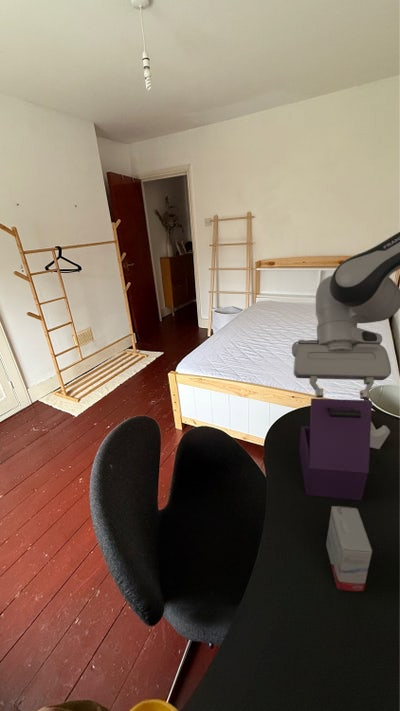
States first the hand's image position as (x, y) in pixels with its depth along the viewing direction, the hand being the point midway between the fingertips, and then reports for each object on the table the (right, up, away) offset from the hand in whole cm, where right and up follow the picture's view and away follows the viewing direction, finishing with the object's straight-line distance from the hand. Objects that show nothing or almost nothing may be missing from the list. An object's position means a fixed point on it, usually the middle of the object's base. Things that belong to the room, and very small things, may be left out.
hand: (341, 397), depth 66 cm
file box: (+2, -22, +13) cm, 26 cm away
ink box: (-3, -32, -7) cm, 33 cm away
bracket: (+18, -15, +26) cm, 35 cm away
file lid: (0, -9, +2) cm, 9 cm away
